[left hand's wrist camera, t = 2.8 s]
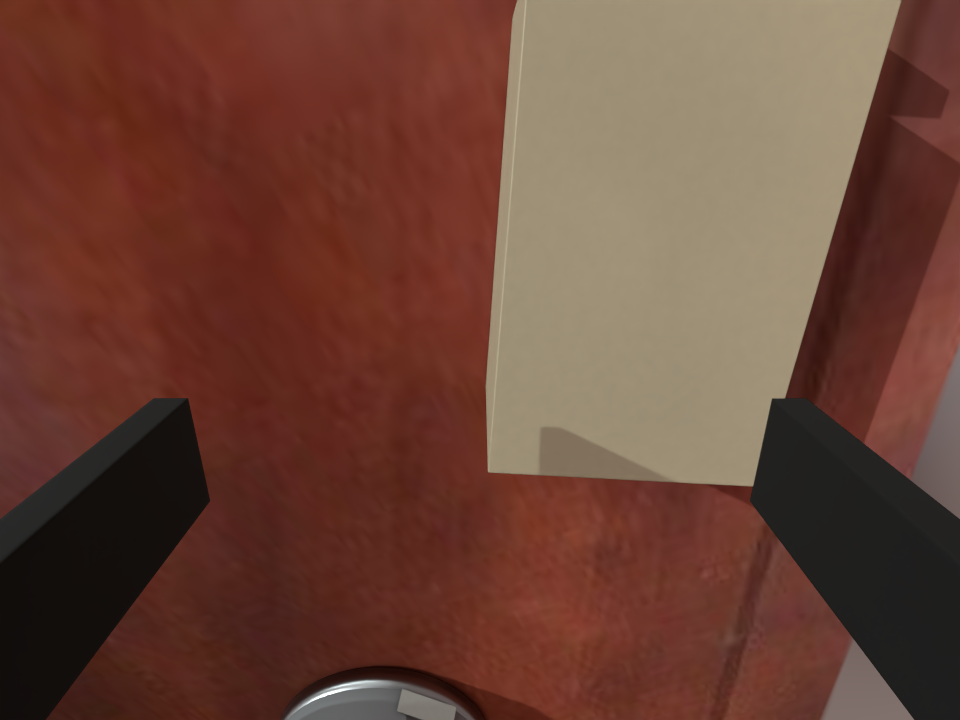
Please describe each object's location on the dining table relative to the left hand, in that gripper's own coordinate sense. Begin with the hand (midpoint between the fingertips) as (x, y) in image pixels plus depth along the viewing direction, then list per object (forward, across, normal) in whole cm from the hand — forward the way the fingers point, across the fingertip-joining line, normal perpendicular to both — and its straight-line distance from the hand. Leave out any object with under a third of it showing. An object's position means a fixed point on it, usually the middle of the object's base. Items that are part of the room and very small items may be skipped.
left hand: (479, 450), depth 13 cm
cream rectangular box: (+16, -6, -3) cm, 17 cm away
